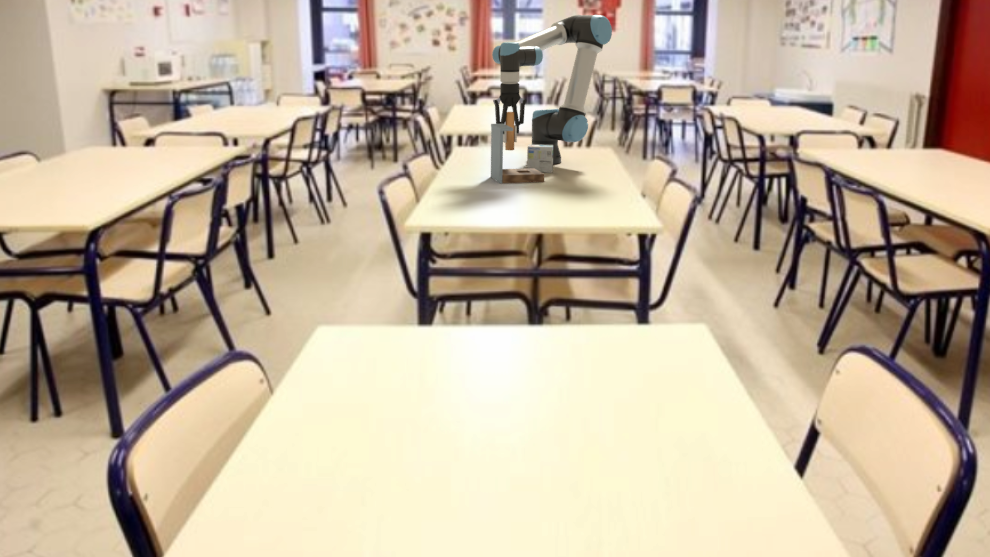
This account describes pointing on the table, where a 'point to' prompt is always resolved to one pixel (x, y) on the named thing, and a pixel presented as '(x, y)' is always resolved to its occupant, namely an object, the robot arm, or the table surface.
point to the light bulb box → (540, 157)
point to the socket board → (522, 175)
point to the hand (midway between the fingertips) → (509, 141)
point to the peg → (509, 134)
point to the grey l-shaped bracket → (497, 150)
